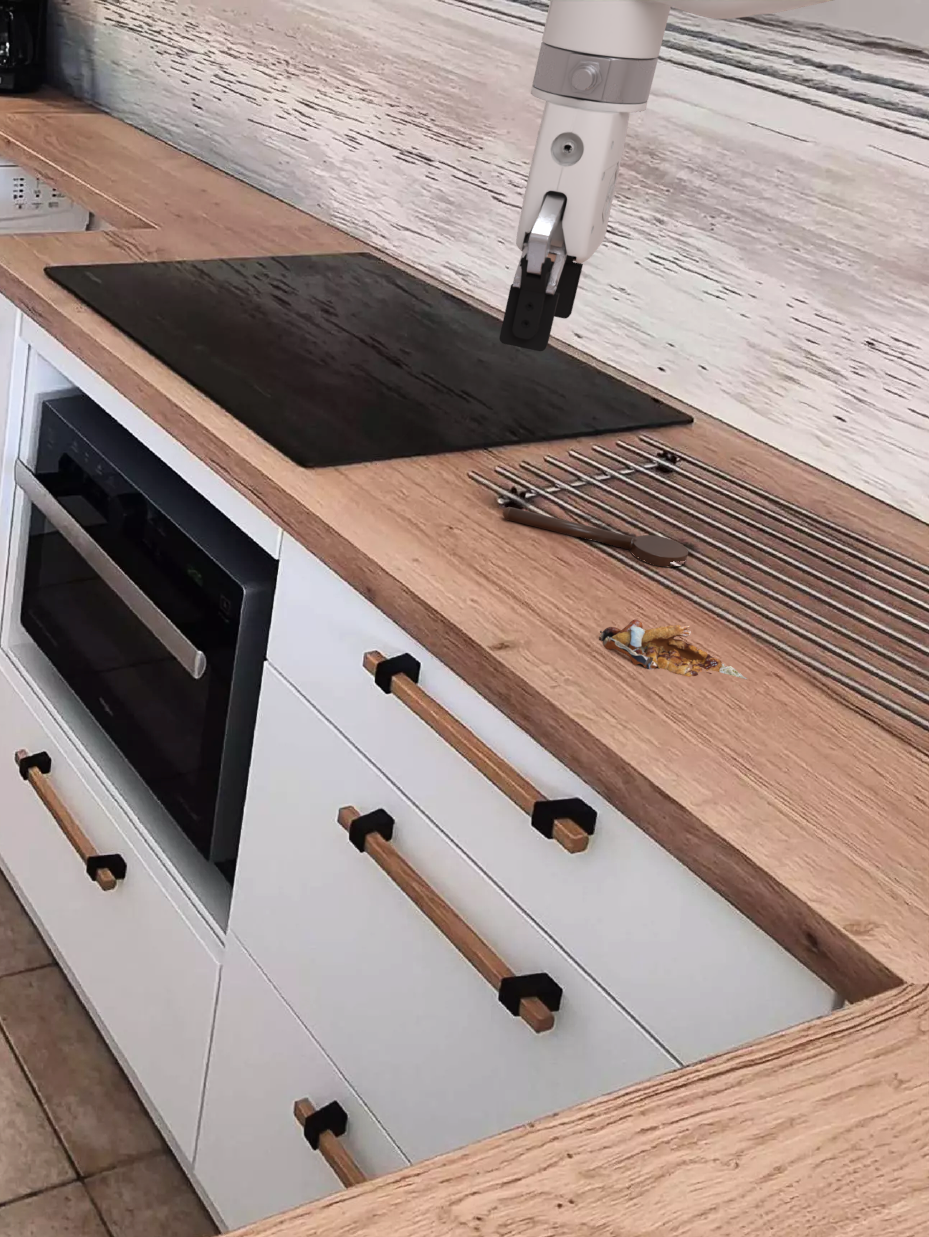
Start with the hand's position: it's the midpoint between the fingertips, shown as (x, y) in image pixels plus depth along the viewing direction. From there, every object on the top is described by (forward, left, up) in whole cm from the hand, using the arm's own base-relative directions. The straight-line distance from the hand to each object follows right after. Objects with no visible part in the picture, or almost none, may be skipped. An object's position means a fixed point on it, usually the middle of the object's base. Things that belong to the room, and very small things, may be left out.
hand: (535, 329), depth 119 cm
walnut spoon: (-6, -28, -25) cm, 39 cm away
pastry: (-15, -4, -26) cm, 30 cm away
